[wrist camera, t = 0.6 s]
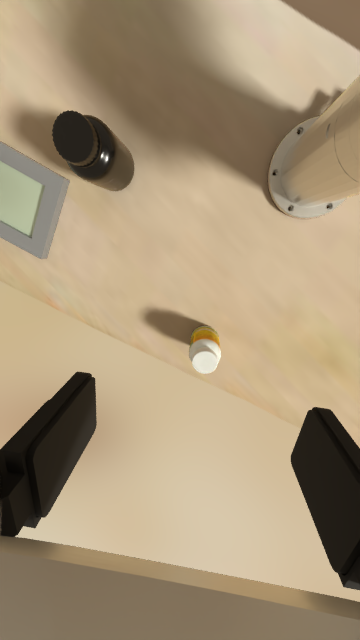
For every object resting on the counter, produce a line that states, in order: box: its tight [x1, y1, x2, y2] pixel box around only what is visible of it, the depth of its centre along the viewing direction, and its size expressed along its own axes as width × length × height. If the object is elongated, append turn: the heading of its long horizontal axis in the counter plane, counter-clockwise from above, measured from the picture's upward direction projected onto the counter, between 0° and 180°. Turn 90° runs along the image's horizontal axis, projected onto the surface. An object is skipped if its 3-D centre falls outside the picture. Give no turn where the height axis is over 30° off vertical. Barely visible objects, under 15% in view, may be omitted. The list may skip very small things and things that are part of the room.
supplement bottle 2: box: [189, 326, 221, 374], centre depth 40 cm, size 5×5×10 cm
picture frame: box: [0, 141, 70, 259], centre depth 38 cm, size 14×14×2 cm
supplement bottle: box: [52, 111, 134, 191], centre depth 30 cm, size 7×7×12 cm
